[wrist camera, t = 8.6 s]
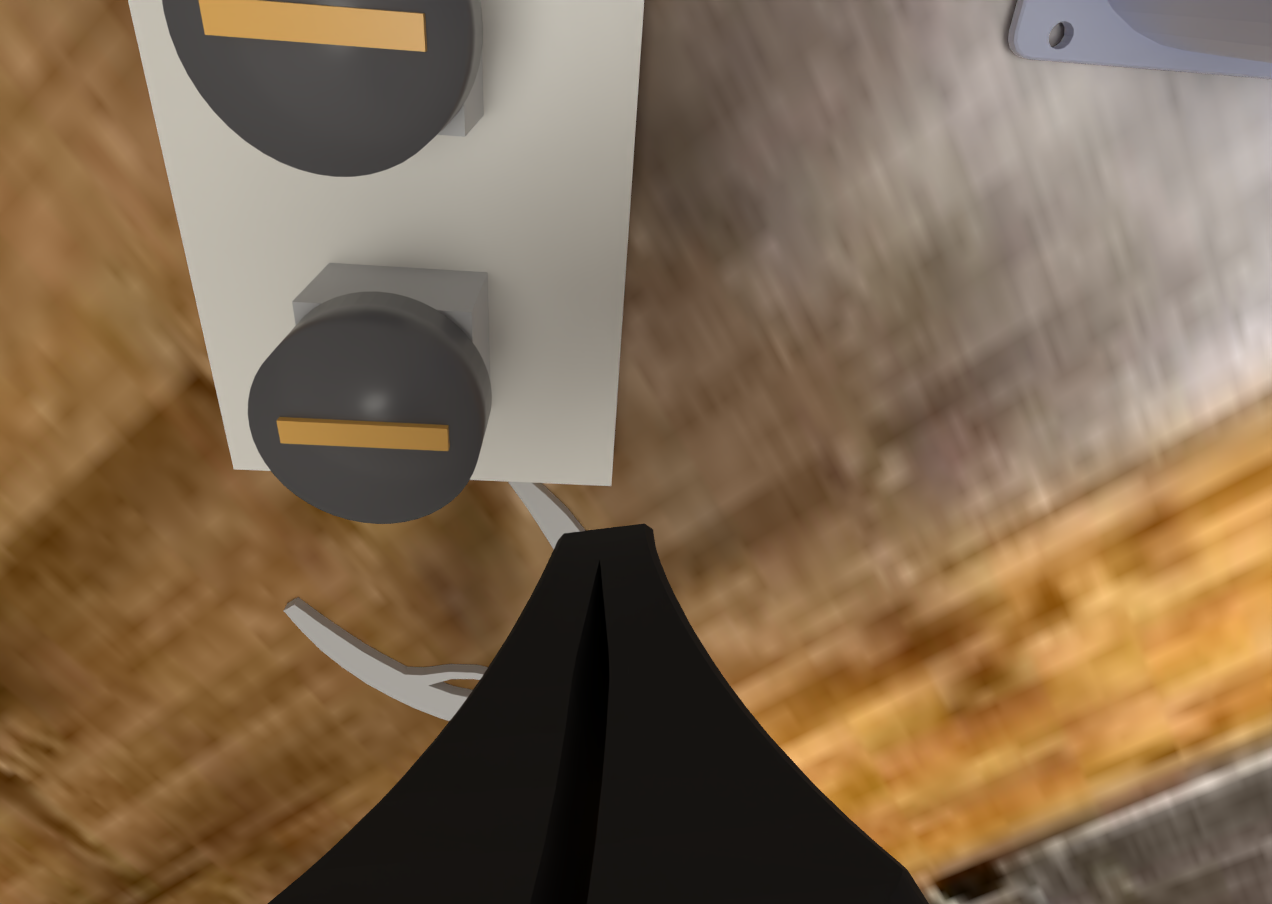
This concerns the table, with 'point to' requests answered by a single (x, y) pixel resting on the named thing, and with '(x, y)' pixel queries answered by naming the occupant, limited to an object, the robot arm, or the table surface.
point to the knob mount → (438, 230)
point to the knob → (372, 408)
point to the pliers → (426, 682)
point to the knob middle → (331, 74)
